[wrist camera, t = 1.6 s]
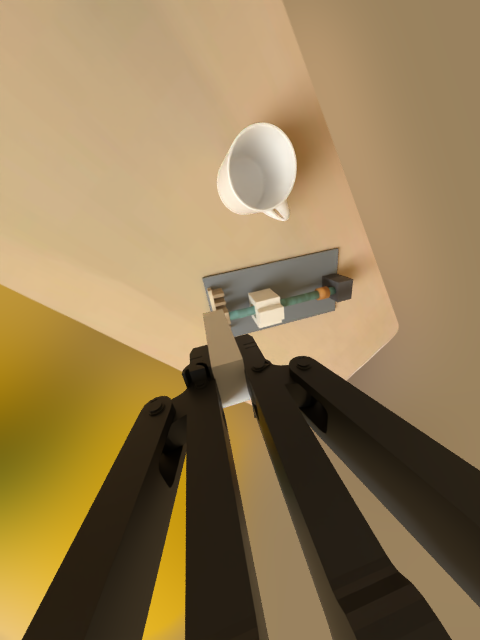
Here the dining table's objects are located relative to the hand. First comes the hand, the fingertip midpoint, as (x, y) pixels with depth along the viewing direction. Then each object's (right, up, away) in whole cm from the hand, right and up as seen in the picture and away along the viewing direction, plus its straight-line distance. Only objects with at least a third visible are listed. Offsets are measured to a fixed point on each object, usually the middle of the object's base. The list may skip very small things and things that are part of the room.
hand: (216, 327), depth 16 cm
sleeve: (+6, +4, +25) cm, 26 cm away
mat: (+9, +6, +27) cm, 29 cm away
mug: (+3, +22, +18) cm, 29 cm away
